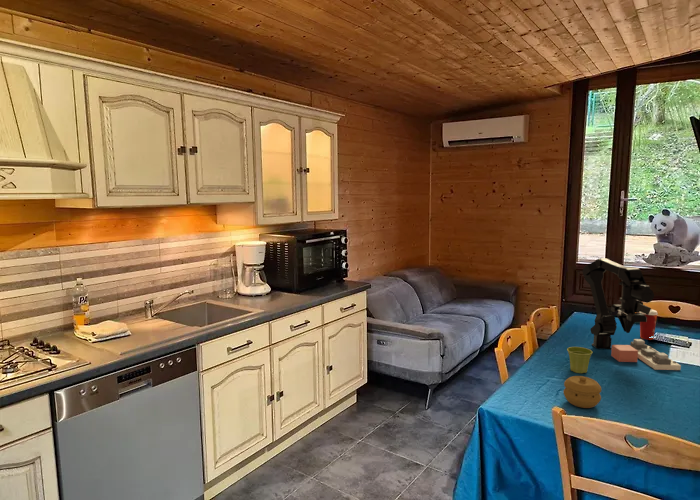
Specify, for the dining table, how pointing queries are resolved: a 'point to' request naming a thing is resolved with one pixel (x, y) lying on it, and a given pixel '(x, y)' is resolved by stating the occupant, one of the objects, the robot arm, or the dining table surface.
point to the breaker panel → (654, 358)
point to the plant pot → (579, 359)
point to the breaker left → (639, 342)
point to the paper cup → (648, 325)
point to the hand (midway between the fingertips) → (626, 332)
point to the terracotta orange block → (624, 353)
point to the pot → (582, 391)
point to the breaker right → (661, 356)
